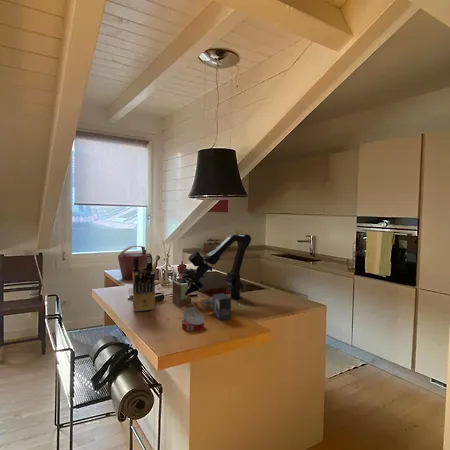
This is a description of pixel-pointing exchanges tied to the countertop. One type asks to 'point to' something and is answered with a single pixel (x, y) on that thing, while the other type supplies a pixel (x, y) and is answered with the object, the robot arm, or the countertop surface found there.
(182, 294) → the green board
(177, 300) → the walnut rack
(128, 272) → the bucket
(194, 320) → the canned food
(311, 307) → the countertop surface
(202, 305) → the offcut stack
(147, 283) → the knife block
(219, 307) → the small box
